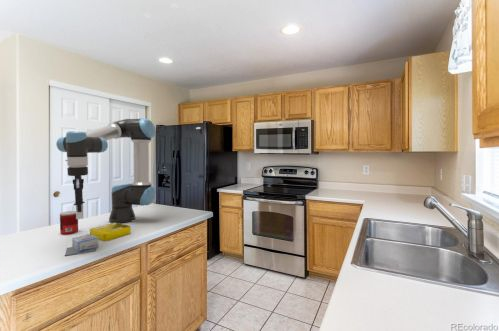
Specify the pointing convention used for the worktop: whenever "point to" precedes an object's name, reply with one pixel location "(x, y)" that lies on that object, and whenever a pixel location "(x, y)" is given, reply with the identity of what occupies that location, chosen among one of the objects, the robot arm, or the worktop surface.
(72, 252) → the mat
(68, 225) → the canned food
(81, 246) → the medicine box
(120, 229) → the element tile
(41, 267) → the worktop surface
